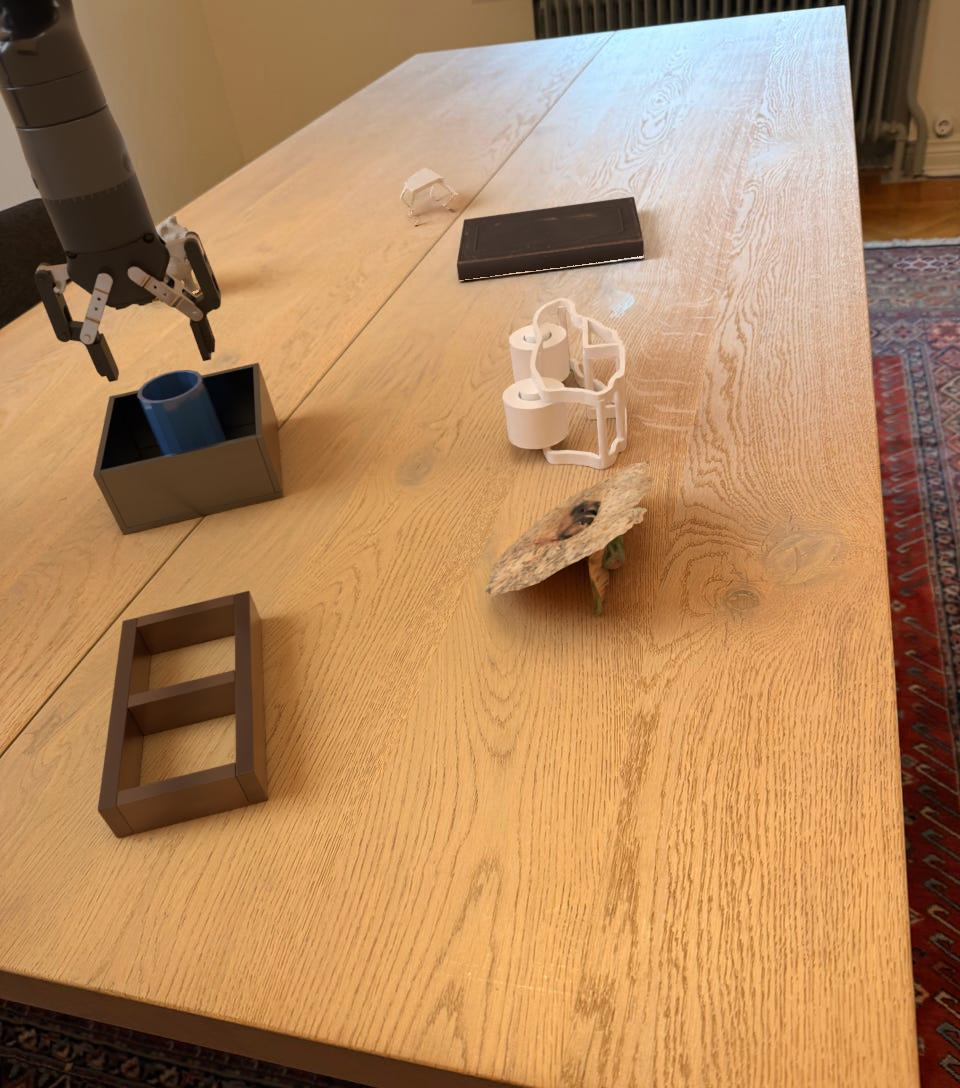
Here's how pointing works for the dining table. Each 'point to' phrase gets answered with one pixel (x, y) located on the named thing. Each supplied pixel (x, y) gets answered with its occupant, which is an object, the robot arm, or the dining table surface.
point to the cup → (180, 411)
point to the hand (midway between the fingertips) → (161, 367)
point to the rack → (184, 717)
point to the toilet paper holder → (542, 396)
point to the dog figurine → (171, 233)
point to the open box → (191, 457)
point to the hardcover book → (549, 238)
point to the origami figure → (422, 182)
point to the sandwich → (577, 535)
